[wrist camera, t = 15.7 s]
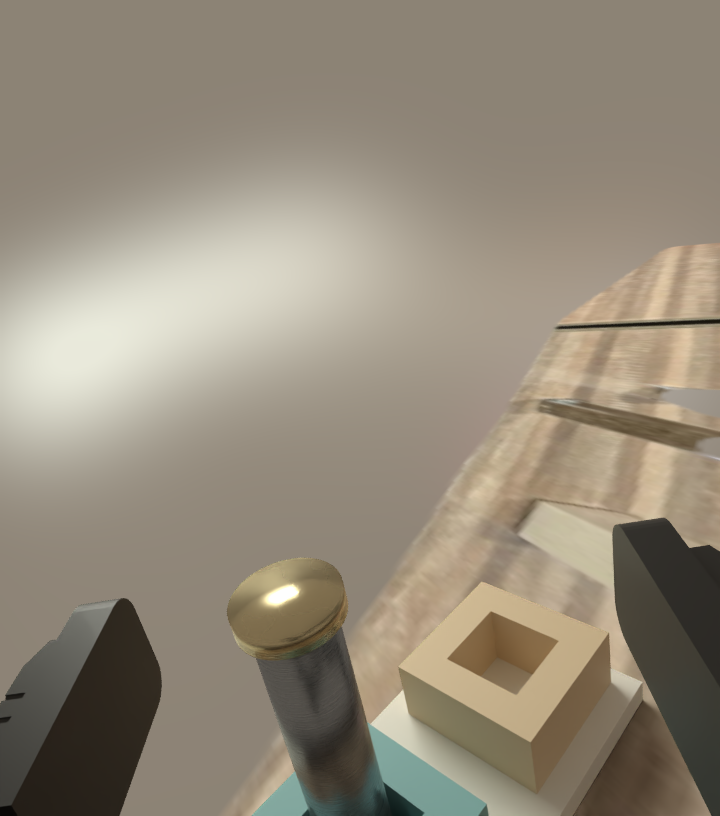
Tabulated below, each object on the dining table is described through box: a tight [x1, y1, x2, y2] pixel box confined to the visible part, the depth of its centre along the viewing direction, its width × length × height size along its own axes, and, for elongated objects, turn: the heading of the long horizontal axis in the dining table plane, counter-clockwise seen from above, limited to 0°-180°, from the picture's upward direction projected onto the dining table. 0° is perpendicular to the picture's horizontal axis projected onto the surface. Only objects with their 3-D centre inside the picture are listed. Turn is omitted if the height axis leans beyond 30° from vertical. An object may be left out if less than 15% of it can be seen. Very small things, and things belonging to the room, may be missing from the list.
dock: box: [252, 582, 643, 816], centre depth 35 cm, size 25×12×6 cm, turn 136°
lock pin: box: [227, 558, 392, 816], centre depth 29 cm, size 5×5×18 cm
